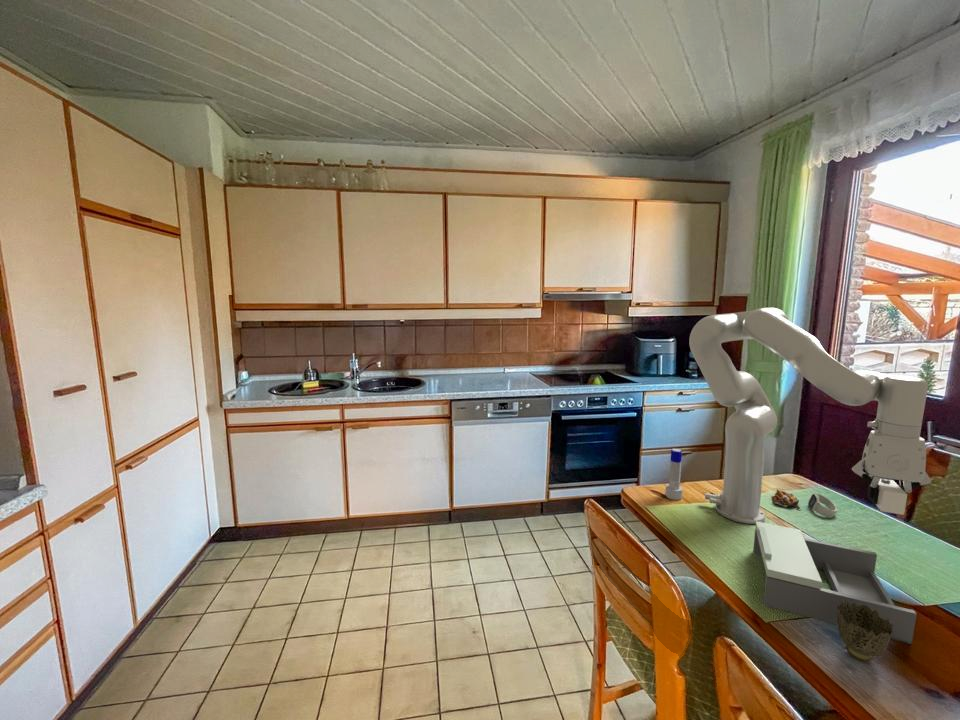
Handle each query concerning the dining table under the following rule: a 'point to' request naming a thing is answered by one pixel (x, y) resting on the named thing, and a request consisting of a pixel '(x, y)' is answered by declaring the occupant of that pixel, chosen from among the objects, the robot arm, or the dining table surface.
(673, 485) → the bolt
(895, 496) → the white block with knob
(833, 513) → the wristwatch
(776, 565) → the lid
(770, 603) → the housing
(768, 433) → the robot arm
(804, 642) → the dining table surface
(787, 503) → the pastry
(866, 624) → the cup
